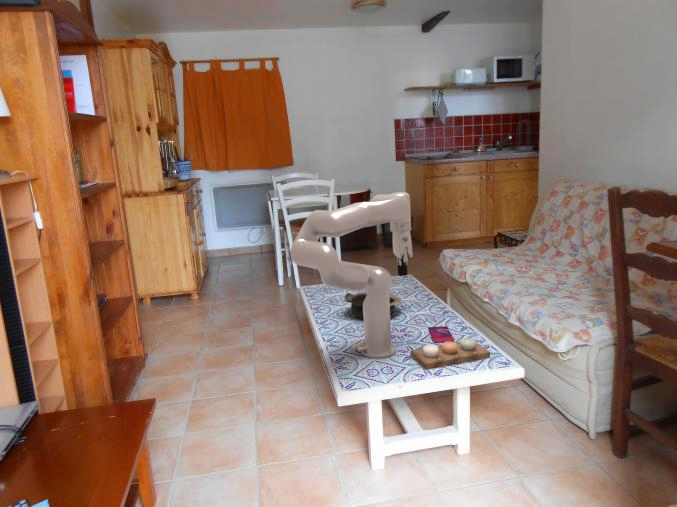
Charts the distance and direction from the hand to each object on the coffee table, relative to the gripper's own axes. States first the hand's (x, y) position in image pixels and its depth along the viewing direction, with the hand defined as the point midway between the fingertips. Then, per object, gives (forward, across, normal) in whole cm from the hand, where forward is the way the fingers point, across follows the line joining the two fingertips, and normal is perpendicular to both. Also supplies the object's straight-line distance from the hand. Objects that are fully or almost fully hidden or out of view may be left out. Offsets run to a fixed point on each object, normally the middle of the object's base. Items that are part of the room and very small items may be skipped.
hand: (402, 275), depth 188 cm
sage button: (+23, -20, -16) cm, 35 cm away
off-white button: (+23, -22, -2) cm, 32 cm away
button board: (+25, -21, -9) cm, 34 cm away
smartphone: (+26, -2, -14) cm, 29 cm away
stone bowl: (+25, +32, +5) cm, 41 cm away
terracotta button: (+23, -21, -9) cm, 32 cm away
